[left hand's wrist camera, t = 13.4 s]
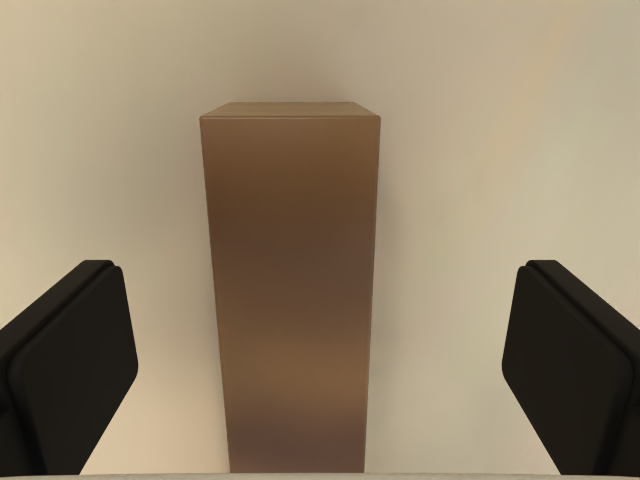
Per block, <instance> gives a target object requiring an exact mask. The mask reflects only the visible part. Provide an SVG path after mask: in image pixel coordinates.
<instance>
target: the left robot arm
mask: <svg viewBox="0 0 640 480" xmlns="http://www.w3.org/2000/svg"><path fill="white" fill-rule="evenodd" d="M137 372H138V359H137V353H136V347H135V341H134V335H133V330H132V324H131V318H130V312H129V306H128V300H127V295H126V289H125V283H124V277H123V272H122V269H121V268H120V267H119V266H115V265H114V263H113V262H112V261H111V260H84V261H82V262H81V263H80V264H79V265H78V266H76V267H75V268H74V269H73V270H72V271H70V272H69V273H68V274H67V275H66V276H64V277H63V278H62V279H61V280H60V281H58V282H57V283H56V284H55V285H54V286H52V287H51V288H50V289H49V290H48V291H46V292H45V293H44V294H43V295H42V296H40V297H39V298H38V299H37V300H36V301H34V302H33V303H32V304H31V305H30V306H28V307H27V308H26V309H25V310H24V311H22V312H21V313H20V314H19V315H18V316H16V317H15V318H14V319H13V320H12V321H10V322H9V323H8V324H7V325H6V326H4V327H3V328H2V329H1V330H0V480H640V330H639V329H638V328H637V327H636V326H634V325H633V324H632V323H631V322H630V321H628V320H627V319H626V318H625V317H624V316H622V315H621V314H620V313H619V312H618V311H616V310H615V309H614V308H613V307H612V306H610V305H609V304H608V303H607V302H606V301H604V300H603V299H602V298H601V297H600V296H598V295H597V294H596V293H595V292H594V291H592V290H591V289H590V288H589V287H588V286H586V285H585V284H584V283H583V282H582V281H580V280H579V279H578V278H577V277H576V276H574V275H573V274H572V273H571V272H570V271H568V270H567V269H566V268H565V267H564V266H562V265H561V264H560V263H559V262H558V261H556V260H529V261H528V262H527V263H526V265H525V266H521V267H520V268H519V269H518V272H517V277H516V283H515V289H514V295H513V301H512V306H511V312H510V318H509V324H508V330H507V335H506V341H505V347H504V353H503V359H502V372H503V376H504V378H505V380H506V382H507V383H508V385H509V387H510V389H511V390H512V392H513V394H514V395H515V397H516V399H517V400H518V402H519V404H520V406H521V407H522V409H523V411H524V412H525V414H526V416H527V418H528V419H529V421H530V423H531V424H532V426H533V428H534V430H535V431H536V433H537V435H538V436H539V438H540V440H541V441H542V443H543V445H544V447H545V448H546V450H547V452H548V453H549V455H550V457H551V459H552V460H553V462H554V464H555V465H556V467H557V469H558V470H559V472H560V474H561V475H533V474H460V473H180V474H107V475H79V474H80V472H81V470H82V469H83V467H84V465H85V464H86V462H87V460H88V459H89V457H90V455H91V453H92V452H93V450H94V448H95V447H96V445H97V443H98V441H99V440H100V438H101V436H102V435H103V433H104V431H105V430H106V428H107V426H108V424H109V423H110V421H111V419H112V418H113V416H114V414H115V412H116V411H117V409H118V407H119V406H120V404H121V402H122V400H123V399H124V397H125V395H126V394H127V392H128V390H129V389H130V387H131V385H132V383H133V382H134V380H135V378H136V376H137Z"/></svg>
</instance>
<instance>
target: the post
mask: <svg viewBox="0 0 640 480" xmlns="http://www.w3.org/2000/svg"><path fill="white" fill-rule="evenodd" d="M199 120H200V131H201V143H202V154H203V166H204V177H205V189H206V200H207V211H208V223H209V234H210V246H211V257H212V269H213V280H214V292H215V303H216V314H217V326H218V337H219V349H220V360H221V372H222V383H223V395H224V406H225V418H226V429H227V440H228V452H229V463H230V473H364V465H365V443H366V422H367V400H368V379H369V358H370V336H371V315H372V293H373V272H374V251H375V229H376V208H377V186H378V165H379V144H380V122H381V118H380V116H379V115H377V114H375V113H373V112H371V111H369V110H367V109H365V108H364V107H362V106H360V105H358V104H356V103H354V102H348V103H228V104H226V105H223V106H221V107H219V108H217V109H215V110H213V111H211V112H209V113H207V114H205V115H203V116H201V117H200V119H199Z"/></svg>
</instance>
